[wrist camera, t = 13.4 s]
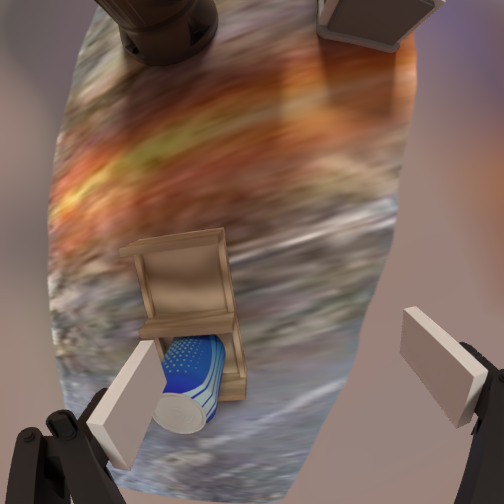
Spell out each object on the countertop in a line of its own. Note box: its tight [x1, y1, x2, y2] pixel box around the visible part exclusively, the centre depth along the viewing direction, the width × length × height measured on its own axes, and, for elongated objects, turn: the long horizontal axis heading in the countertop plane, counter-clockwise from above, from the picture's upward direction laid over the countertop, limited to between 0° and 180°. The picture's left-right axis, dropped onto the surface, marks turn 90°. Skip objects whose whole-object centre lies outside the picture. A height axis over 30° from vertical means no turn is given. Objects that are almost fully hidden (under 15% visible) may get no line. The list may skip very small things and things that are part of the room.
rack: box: [118, 227, 247, 401], centre depth 41 cm, size 24×13×7 cm, turn 7°
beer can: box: [152, 334, 226, 434], centre depth 37 cm, size 8×8×16 cm
